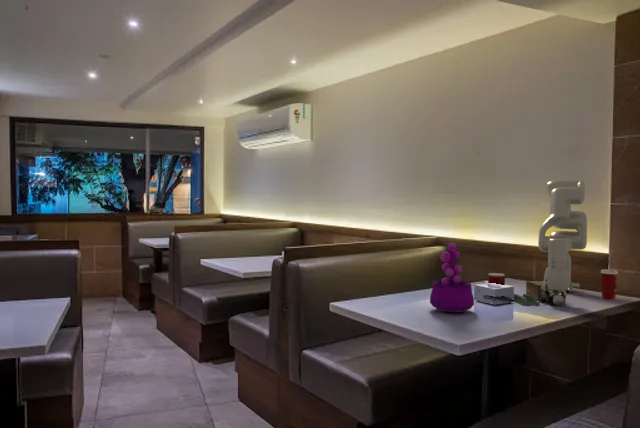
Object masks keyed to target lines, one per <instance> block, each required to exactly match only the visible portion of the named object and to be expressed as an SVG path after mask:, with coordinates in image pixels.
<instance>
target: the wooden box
mask: <svg viewBox="0 0 640 428" xmlns="http://www.w3.org/2000/svg"><path fill="white" fill-rule="evenodd" d="M525 283H526V284H525V285H526V286H525V287H526V288H525V294H527V295H530V296H532V297H534V298H536V302H537V301H543V300H542V290H541V287H542V286H543V284H544V280H541V281H540V280H535V281H534V280H532V281H531V280H529V281H527V280H526V282H525ZM545 289H546V290H548V289H547V288H545ZM553 293H556V294H558V295H560V292H559V290H553Z"/></svg>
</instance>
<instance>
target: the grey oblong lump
mask: <svg viewBox="0 0 640 428" xmlns="http://www.w3.org/2000/svg"><path fill="white" fill-rule="evenodd" d="M552 297H553V305H555V306H557V307H562V306H564V305H563V304H564V303H565V304H566V302H565V298H564V297H563V296H561V294H559V295H558V294H556V293H552ZM547 299H548V295H546V293H545V292H544V291H542V301H545V302H547Z"/></svg>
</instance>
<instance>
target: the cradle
mask: <svg viewBox="0 0 640 428" xmlns="http://www.w3.org/2000/svg"><path fill="white" fill-rule="evenodd" d="M513 298H514V301H515V302H514V301H513V302H514V303H516V302H517V303H516V304H518V303H519V305H521V306H540V302H537V301H536V298H534V297H532V296H530V295H527V294H526V293H522V295H519V294H517V293H513Z"/></svg>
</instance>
